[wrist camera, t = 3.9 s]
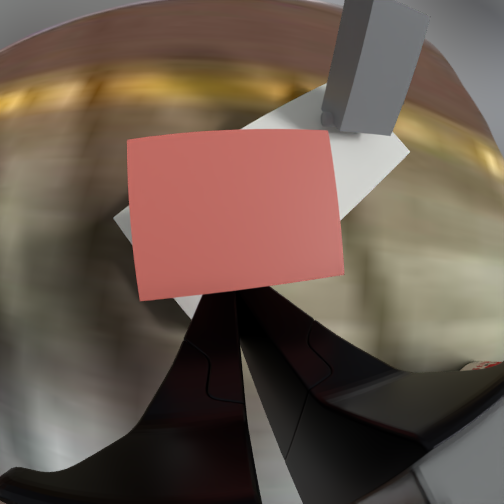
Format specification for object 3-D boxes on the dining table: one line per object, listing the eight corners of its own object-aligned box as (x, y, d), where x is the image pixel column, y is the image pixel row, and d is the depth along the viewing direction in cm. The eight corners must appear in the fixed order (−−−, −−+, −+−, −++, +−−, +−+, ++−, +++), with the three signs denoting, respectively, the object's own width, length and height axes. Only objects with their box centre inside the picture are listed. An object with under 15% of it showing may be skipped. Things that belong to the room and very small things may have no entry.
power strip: (207, 335, 16) (208, 339, 14) (124, 231, 17) (111, 216, 14) (420, 138, 23) (437, 124, 20) (362, 78, 23) (374, 61, 21)
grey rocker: (392, 142, 17) (435, 18, 10) (331, 137, 16) (368, -10, 9) (371, 120, 19) (405, 7, 12) (313, 115, 18) (341, -15, 11)
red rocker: (259, 252, 15) (360, 272, 6) (165, 263, 14) (119, 302, 5) (253, 194, 15) (344, 131, 6) (159, 203, 14) (107, 142, 5)
